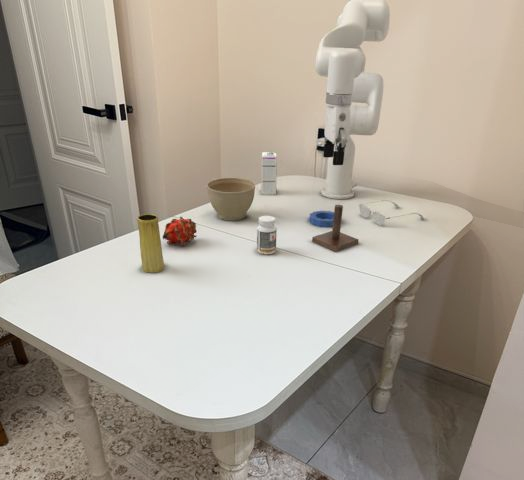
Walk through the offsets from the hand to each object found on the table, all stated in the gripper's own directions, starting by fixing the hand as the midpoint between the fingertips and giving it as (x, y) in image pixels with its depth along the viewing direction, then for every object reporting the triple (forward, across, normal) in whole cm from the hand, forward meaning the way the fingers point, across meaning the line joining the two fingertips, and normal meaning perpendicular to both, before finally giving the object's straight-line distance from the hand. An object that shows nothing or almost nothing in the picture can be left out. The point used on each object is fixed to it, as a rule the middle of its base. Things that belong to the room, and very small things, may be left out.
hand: (332, 160), depth 154 cm
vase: (+21, -26, +57) cm, 66 cm away
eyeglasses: (+21, +4, -25) cm, 32 cm away
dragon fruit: (+21, -10, +49) cm, 54 cm away
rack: (+20, -16, +2) cm, 26 cm away
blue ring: (+20, +3, 0) cm, 21 cm away
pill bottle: (+21, -19, +24) cm, 37 cm away
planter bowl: (+21, +12, +30) cm, 39 cm away
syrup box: (+21, +37, +12) cm, 44 cm away
